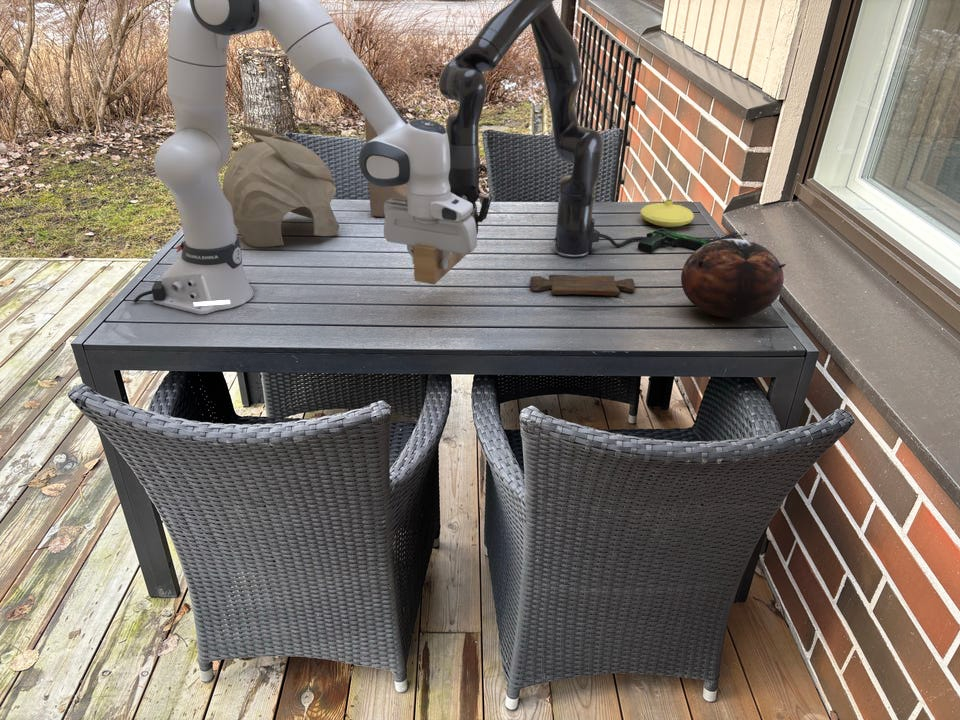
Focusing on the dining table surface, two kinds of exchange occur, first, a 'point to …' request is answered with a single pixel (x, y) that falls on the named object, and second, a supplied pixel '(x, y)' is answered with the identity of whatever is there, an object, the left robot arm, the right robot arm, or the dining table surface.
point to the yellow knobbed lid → (667, 214)
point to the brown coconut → (732, 278)
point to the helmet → (277, 188)
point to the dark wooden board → (581, 285)
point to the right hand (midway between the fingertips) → (462, 235)
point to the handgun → (669, 240)
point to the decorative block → (377, 192)
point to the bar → (431, 263)
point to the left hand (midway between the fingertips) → (430, 266)
